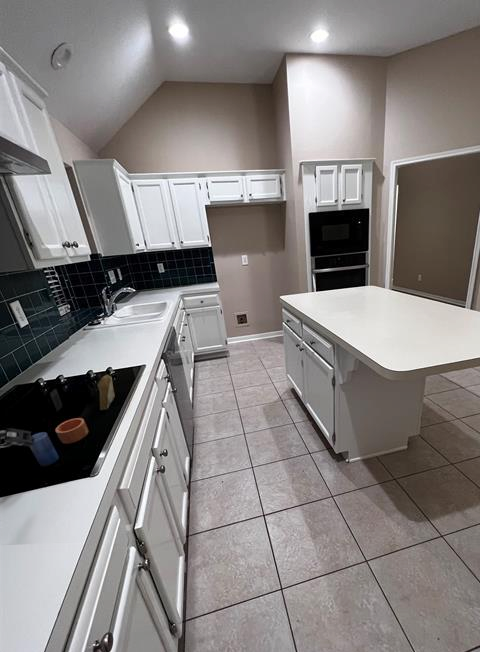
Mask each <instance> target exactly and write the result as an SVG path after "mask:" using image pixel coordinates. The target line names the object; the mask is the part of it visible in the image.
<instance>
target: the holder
mask: <svg viewBox="0 0 480 652" xmlns="http://www.w3.org/2000/svg"><path fill="white" fill-rule="evenodd" d="M55 433H56V435H57V437H58V439H59V441H60V442H61V444H65V445H67V444H68V445H69V444H74V443H77V442H78V441H81V440H82V439H84V438H86V436H88V434H89V428H88V425H87V424H86V421H85V419H84V418H82V417H77V418H76V417H75V418H71V419H68V420H66V421H63V422H61V423H60V424H58V425H57V427H56V428H55Z"/></svg>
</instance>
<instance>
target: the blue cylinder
mask: <svg viewBox="0 0 480 652" xmlns="http://www.w3.org/2000/svg"><path fill="white" fill-rule="evenodd" d="M31 436H32V437H34V438H35V440H34V445H33V446H28V447H29V449H30V450H31V452H32V455H33V456H34V457H35V459H36V461H37V463H38V465H39V466H40V467H47V466H50V465H53V464H55V463H56V462H57V461H58V460H59V458H60V457H59V455H58V452H57V451H56V449H55V447H54V444H53V443H52V440H51V439H50V437H49V435H48V433H47V432H45V431H42V432H38V433H35V434H33V435H31Z"/></svg>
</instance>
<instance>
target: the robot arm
mask: <svg viewBox="0 0 480 652" xmlns="http://www.w3.org/2000/svg"><path fill="white" fill-rule="evenodd" d="M31 434H32V431H29V430H24V429H19V428H12V427H8V428H5V430H0V449H1V448H3V449H4V448H5V449H6V448H9V447H11V446H22V447H29V446H33V445H34V440H35V438H34V437H32V436H33V435H31ZM2 439H4V443H2Z"/></svg>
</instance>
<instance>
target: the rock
mask: <svg viewBox="0 0 480 652" xmlns="http://www.w3.org/2000/svg"><path fill="white" fill-rule="evenodd" d="M97 388H98V391H99V410H100V411H106V410H108V409H109V407H110V405H111V403H113V401H114V398H115V397H116V396H115V389H114V385H113V377H112V376H111V375H109V374H105V375H103V376H102V377H101V378H100V380H99V381H98V383H97Z"/></svg>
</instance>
